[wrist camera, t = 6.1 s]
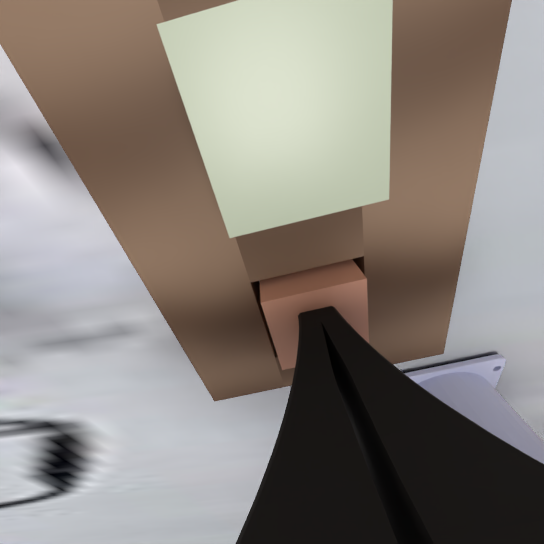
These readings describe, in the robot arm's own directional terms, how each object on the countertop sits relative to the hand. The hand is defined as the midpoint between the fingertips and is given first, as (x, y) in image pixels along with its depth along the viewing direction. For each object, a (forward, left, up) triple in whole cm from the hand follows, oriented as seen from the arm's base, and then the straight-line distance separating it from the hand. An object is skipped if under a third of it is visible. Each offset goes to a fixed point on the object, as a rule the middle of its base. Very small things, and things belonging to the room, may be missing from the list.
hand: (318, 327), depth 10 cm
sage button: (+7, 0, -1) cm, 7 cm away
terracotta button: (0, 0, -3) cm, 3 cm away
